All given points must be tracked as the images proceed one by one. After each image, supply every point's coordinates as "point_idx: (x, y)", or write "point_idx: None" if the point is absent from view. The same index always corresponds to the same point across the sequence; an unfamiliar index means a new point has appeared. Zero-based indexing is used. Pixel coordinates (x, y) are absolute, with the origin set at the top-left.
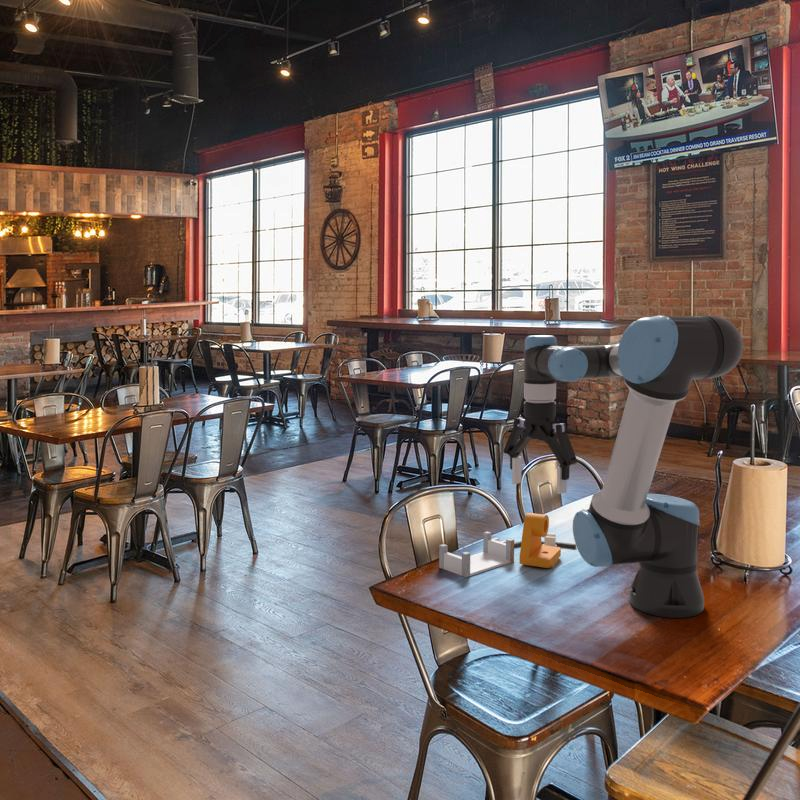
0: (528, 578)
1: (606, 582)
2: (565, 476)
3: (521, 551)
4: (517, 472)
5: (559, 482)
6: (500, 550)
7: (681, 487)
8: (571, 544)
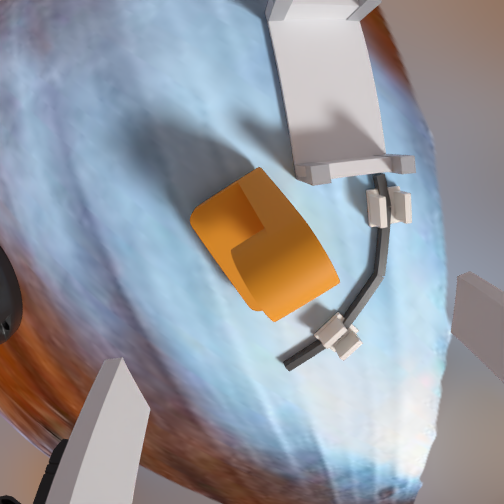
0: (173, 132)
1: (76, 277)
2: (50, 458)
3: (261, 175)
4: (497, 335)
5: (81, 411)
6: (337, 161)
7: None
8: (293, 362)
